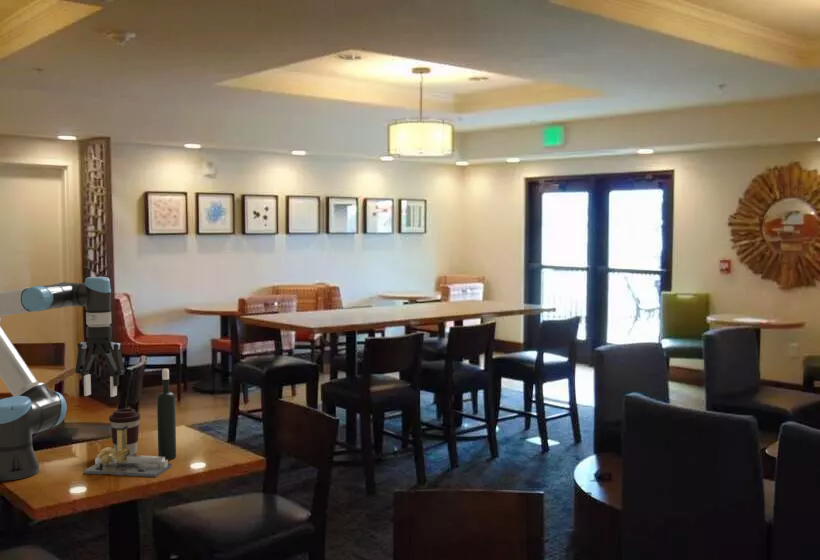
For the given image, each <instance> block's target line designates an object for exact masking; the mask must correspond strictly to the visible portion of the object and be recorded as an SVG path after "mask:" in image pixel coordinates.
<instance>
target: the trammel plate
mask: <svg viewBox="0 0 820 560" xmlns="http://www.w3.org/2000/svg"><path fill="white" fill-rule="evenodd" d="M113 454H115V447H114V446H106V447H104V448H102V449H101V450H100V453H97V454H96V458H94V464H93V465H92V466H89V467H87V468H86V469H84V470H83V474H84V473H86V474H87V475H88V474H89V475H102V474H114V475H113V476H123V475H127V476H129V477H144V478H145V477H147V478H156V477H158V476H160V475H161V474H163V473H165V472H166V471H167V470H169V469H170V468H172V467H173V465H172V463H168V462H169V461H168V459H165V456H158V455H140V454H139V455H137V454H134V455H125V462H117V468H114V458H112V455H113ZM90 473H91V474H90Z"/></svg>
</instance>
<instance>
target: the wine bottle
mask: <svg viewBox="0 0 820 560" xmlns="http://www.w3.org/2000/svg"><path fill="white" fill-rule="evenodd" d="M161 378H162V392H159V393H158V395H157V396H156V408H157V410H156V414H157V415H156V416H157V417H156V418H157V456H165V459H168V460H169V461H170V460H174V459H176V458H177V432H176V431H177V430H176V429H177V427H176V396H175V395H176V394H175V393H173V392H172V391H170V370H169V368H162V371H161Z"/></svg>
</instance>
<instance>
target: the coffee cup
mask: <svg viewBox="0 0 820 560" xmlns="http://www.w3.org/2000/svg"><path fill="white" fill-rule="evenodd" d="M140 419H141V414H140V412H139V413H138V412H137V411H136V409H134V408H119V409H116V410H114V411H113V414H110V415H109V417H108V420H109V422H110V423H111V425H110V429H111V430H110V431H111V441H112V445H113V447H115V452H116V451H117V430H116V428H117V427H119V426H121V425H128V428H127V449H130V455H137V453H138V442H139V427H140V424H139V420H140Z"/></svg>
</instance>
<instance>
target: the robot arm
mask: <svg viewBox="0 0 820 560" xmlns="http://www.w3.org/2000/svg"><path fill="white" fill-rule="evenodd" d="M111 296H112V288H111V280H110V278H109V277H108V276H107V277H106V276H90V277H89V276H88V277H86V278H85V280H84V282H67V281H64V282H63V281H62V282H56V283H54V284H47V285H46V284H45V285H44V284H43V285H34V286H30V287H24V288H17V289H10V290H3V291H0V323H1V321H2V316H10V315H11V316H12V315H17V314H25V313H31V312H34V313H35V312H41V311H46V310H53V309H62V308H67V307H85V320H86V321H85V322H86V325H87V326H86V327H85V330H86V331H85V332H86V341H82V342H78V343H77V348H78V349H77V350H78V351H77V359H76V365H75V374H79V375H80V376H81V385H82V386H83V397H87V396H90V395H92V383H91V379H92V377H91V376H92V375H91V373H90V369H91V367H92V364H93V362H94V360H95V357H96V355H100V356H101V355H102V358H104V359H105V362H106V364H107V367H108V369H109V371H110V372H111V376H109V382H110V385H109V391H110V398H113V397H116V396H117V395H118V386H119V385H120V375H122V374H125V372H126V370H125V365H124V360H123V355H122V351H121V349H122V343H121V342H113V340H112V335H113V333H112V330H113V329H112V325H111V324H112V309H111V307H112V304H111V303H112V300H111V299H112V297H111ZM87 348H88V353H87ZM111 348H112V350H113V353H112V351H111ZM86 353H87V354H86ZM86 355H87V357H86ZM113 356H114V357H113ZM89 373H90V374H89ZM0 379H1V380H2V381H3V383H4V384H5V386H6V388H7V389H8V390H9V392H10V394H11V395H12V396H10V397H5V398H0V482H1V481H2V482H4V481H15V480H21V479H26V478H29V477H33V476H34V475H36V474H38V473H39V472H40V464H39V461H38V459H37V456H36V452H35V451H34V450H35V449H34V448H33V435H34V434H35V435H36V434H37V433H40V432H44V431H45V430H46V431H47V430H50V429H53V428H54V427H55V426H58V425H60V424H61V423H62V422H63V421H64V419H65V417H66V415H67V407H68V406H67V402H66V399H65V397H64V396H63V394H62V393H60V392H58V391H55V390H50V388H49V387H48V386H47V384H46V383H45V382H40V381H38V380H37V377H35V375H34V373H33V372H32V371H31V369H30V367H29V366H28V365H27V363H26V362H25V360H24V359H23V357H22V356H21V354H20V353H19V351H18V349H17V348H16V347H15V345H14V344H13V343H12V340H10V338H9V336H8V334H7V333H6V332H5V331H4V329H3V327H2V326H1V325H0Z"/></svg>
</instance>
